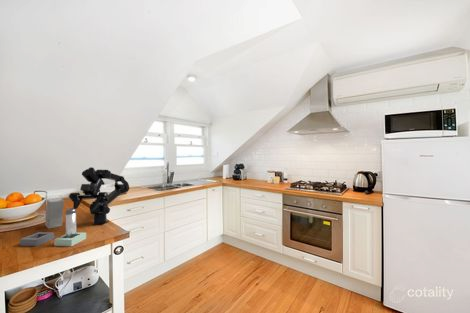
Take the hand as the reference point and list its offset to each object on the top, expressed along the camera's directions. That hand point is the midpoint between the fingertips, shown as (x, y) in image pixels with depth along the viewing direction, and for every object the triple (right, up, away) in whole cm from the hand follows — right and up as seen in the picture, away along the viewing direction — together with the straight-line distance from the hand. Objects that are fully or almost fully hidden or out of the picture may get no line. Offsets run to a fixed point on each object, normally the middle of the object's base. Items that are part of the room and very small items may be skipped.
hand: (83, 210), depth 105 cm
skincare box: (-26, -13, +12) cm, 32 cm away
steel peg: (+1, -13, -10) cm, 16 cm away
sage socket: (+1, -13, -10) cm, 16 cm away
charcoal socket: (-15, -13, -10) cm, 22 cm away
